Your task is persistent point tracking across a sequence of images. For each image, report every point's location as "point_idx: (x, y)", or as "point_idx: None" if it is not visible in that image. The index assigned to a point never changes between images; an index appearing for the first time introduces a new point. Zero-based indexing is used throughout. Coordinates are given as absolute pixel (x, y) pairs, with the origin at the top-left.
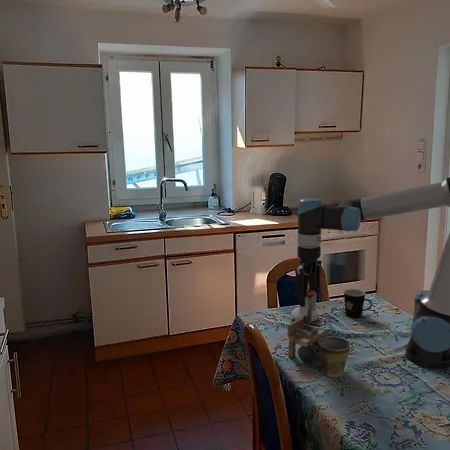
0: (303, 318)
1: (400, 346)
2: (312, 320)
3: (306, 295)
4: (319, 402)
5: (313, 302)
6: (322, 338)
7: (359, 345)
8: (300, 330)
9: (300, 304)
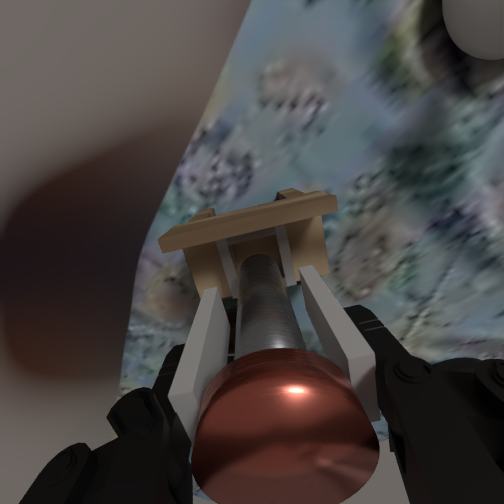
0: (240, 274)
1: (469, 337)
2: (477, 56)
3: (188, 481)
4: (130, 382)
5: (322, 339)
6: (233, 354)
7: (407, 280)
8: (221, 257)
9: (167, 365)
